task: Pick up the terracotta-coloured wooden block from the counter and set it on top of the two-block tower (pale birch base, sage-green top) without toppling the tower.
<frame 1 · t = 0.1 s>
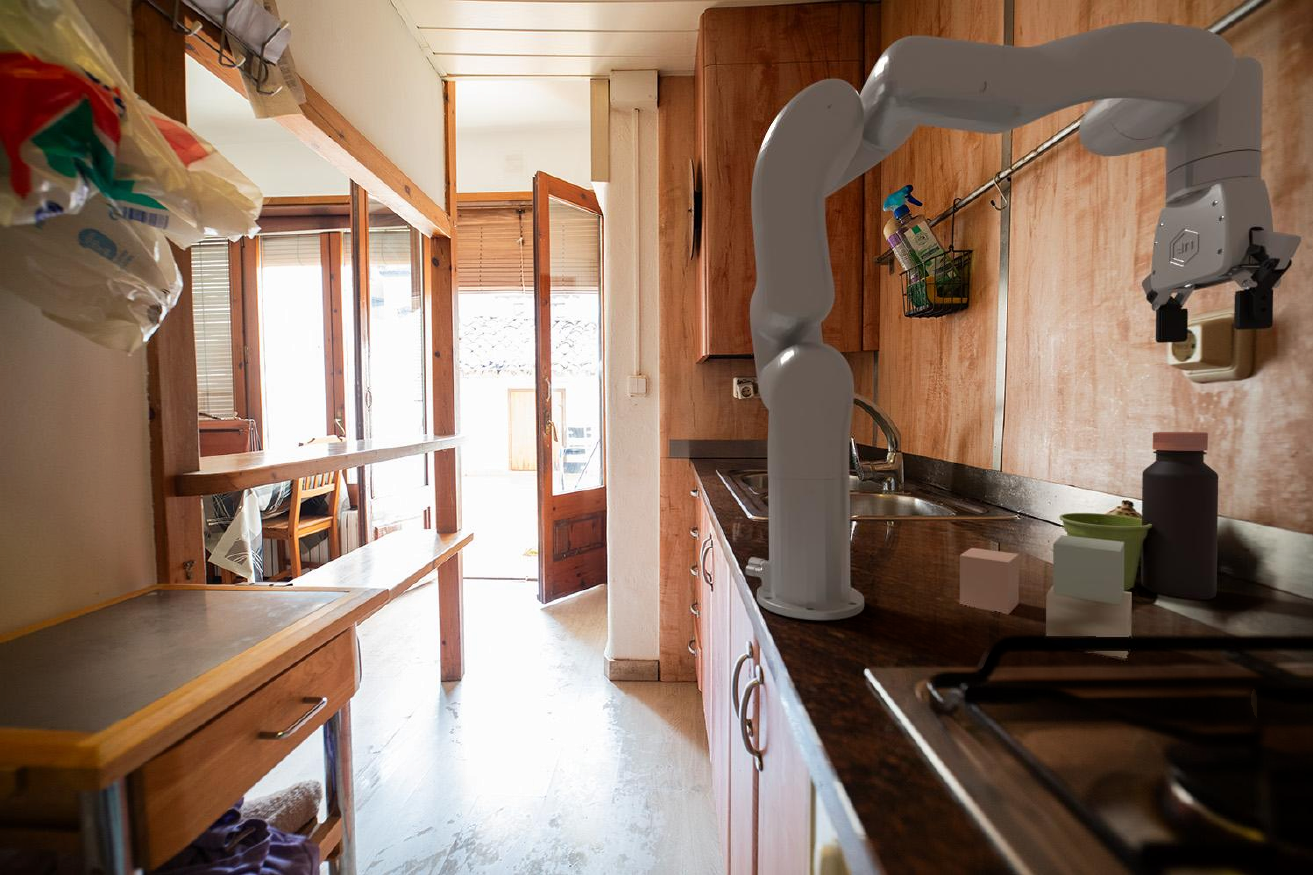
hand: (1209, 335, 61), 31 cm above the countertop, tool pointing down, fingers open, 9 cm apart
tower top: (1088, 593, 53), point 5 cm above the countertop, touching tower base
bottle: (1177, 593, 68), on the countertop
tower base: (1088, 643, 53), on the countertop, touching tower top
plant pot: (1103, 585, 71), on the countertop
block: (989, 604, 65), on the countertop
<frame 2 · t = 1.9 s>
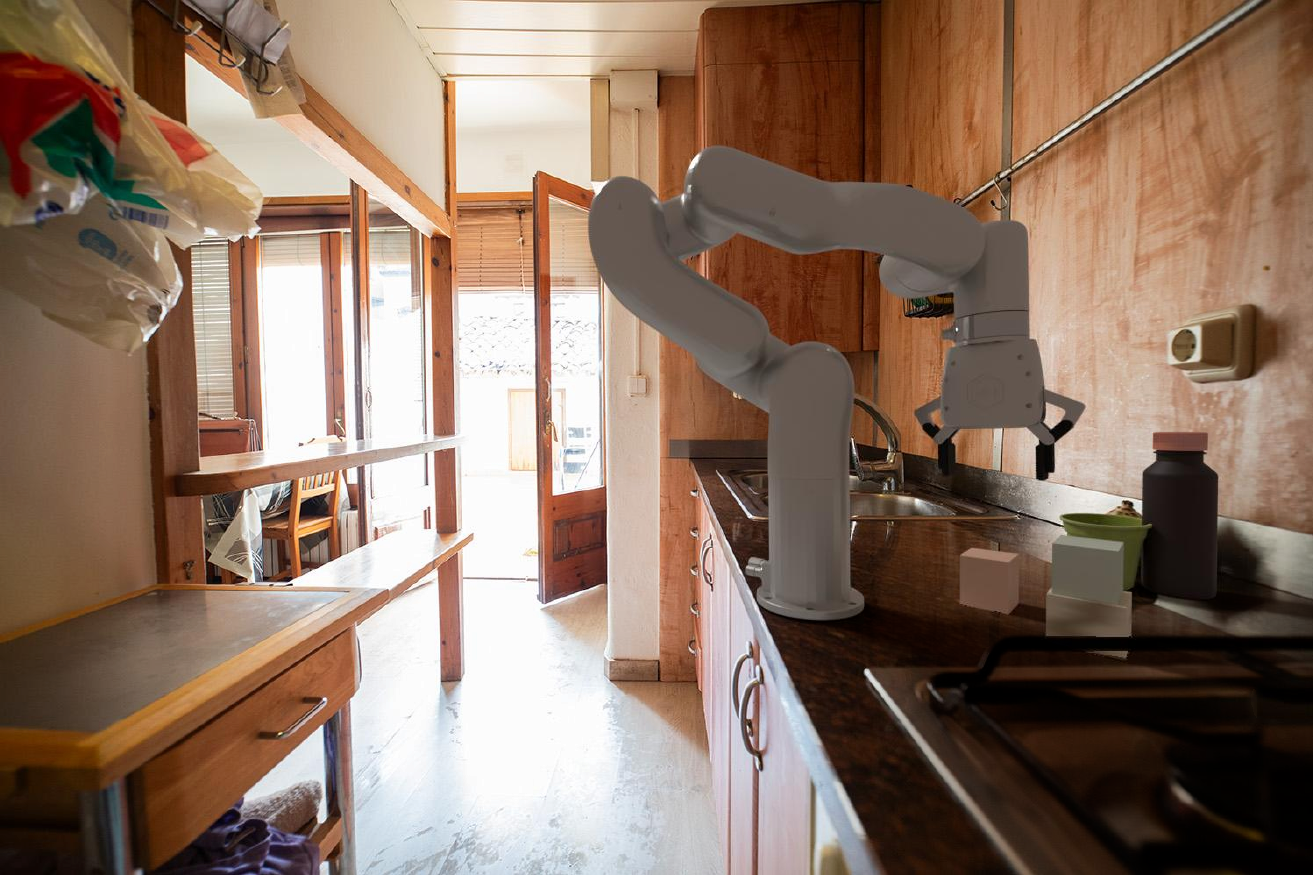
hand: (993, 477, 64), 15 cm above the countertop, tool pointing down, fingers open, 9 cm apart
nothing on the countertop moved.
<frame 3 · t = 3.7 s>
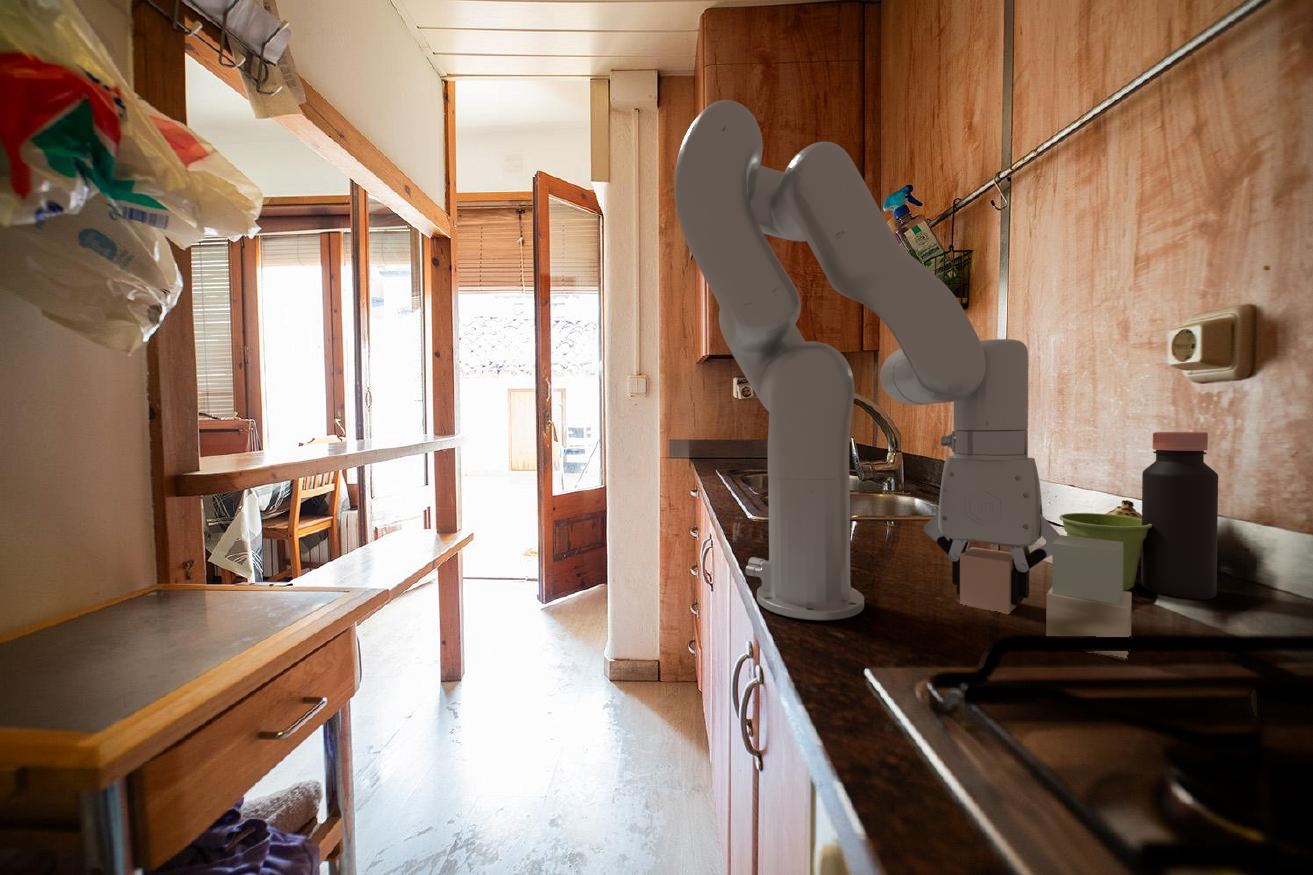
hand: (989, 595, 65), 1 cm above the countertop, tool pointing down, fingers closed on block, 5 cm apart
block: (989, 603, 65), on the countertop, touching gripper
everything else where it was.
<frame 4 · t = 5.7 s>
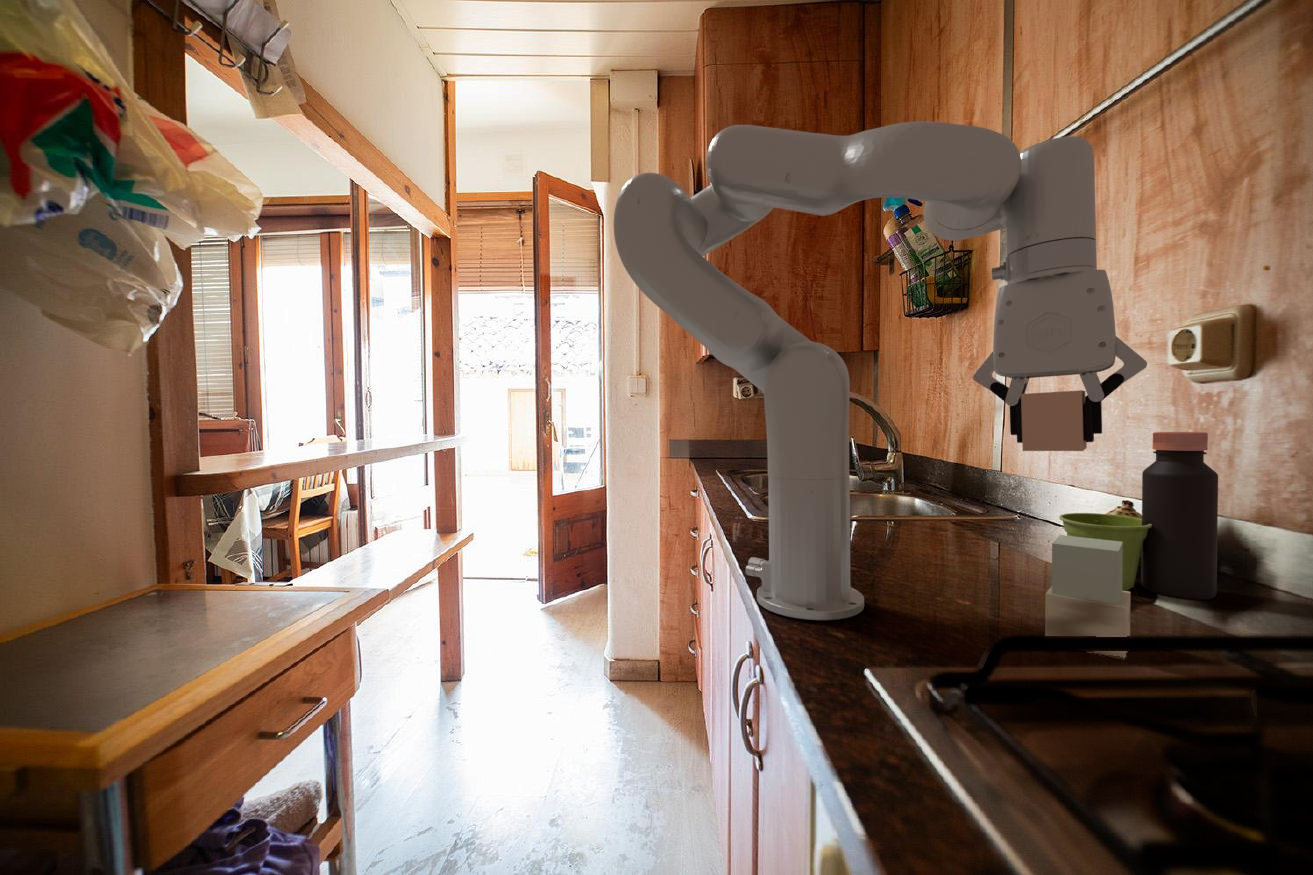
hand: (1054, 439, 57), 20 cm above the countertop, tool pointing down, fingers closed on block, 5 cm apart
block: (1054, 449, 57), point 19 cm above the countertop, touching gripper
everything else where it was.
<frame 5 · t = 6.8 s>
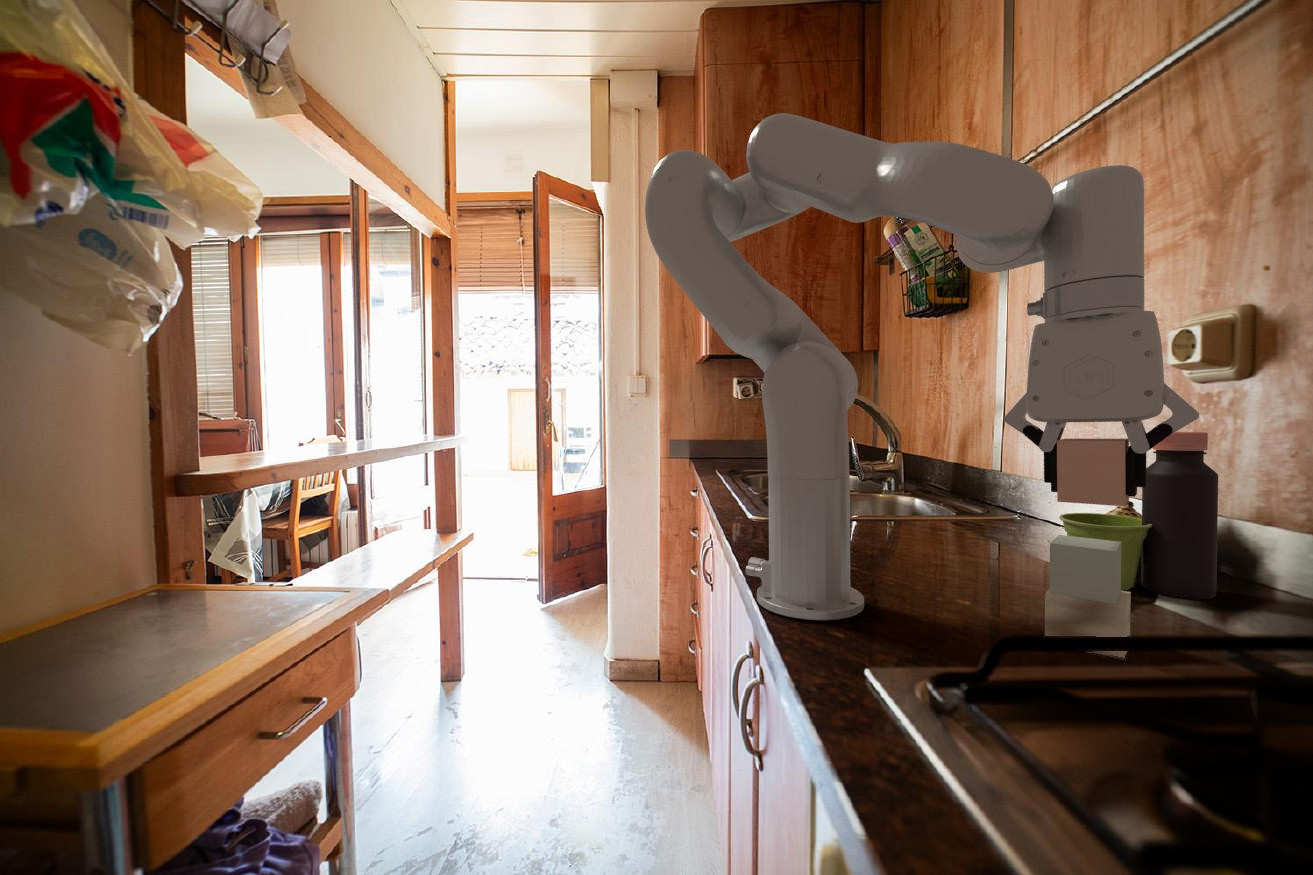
hand: (1093, 490, 53), 15 cm above the countertop, tool pointing down, fingers closed on block, 5 cm apart
block: (1093, 500, 53), point 14 cm above the countertop, touching gripper
everything else where it was.
when the fingers open (12 cm above the countertop, at t = 7.7 s): block moves 1 cm, resting on tower top.
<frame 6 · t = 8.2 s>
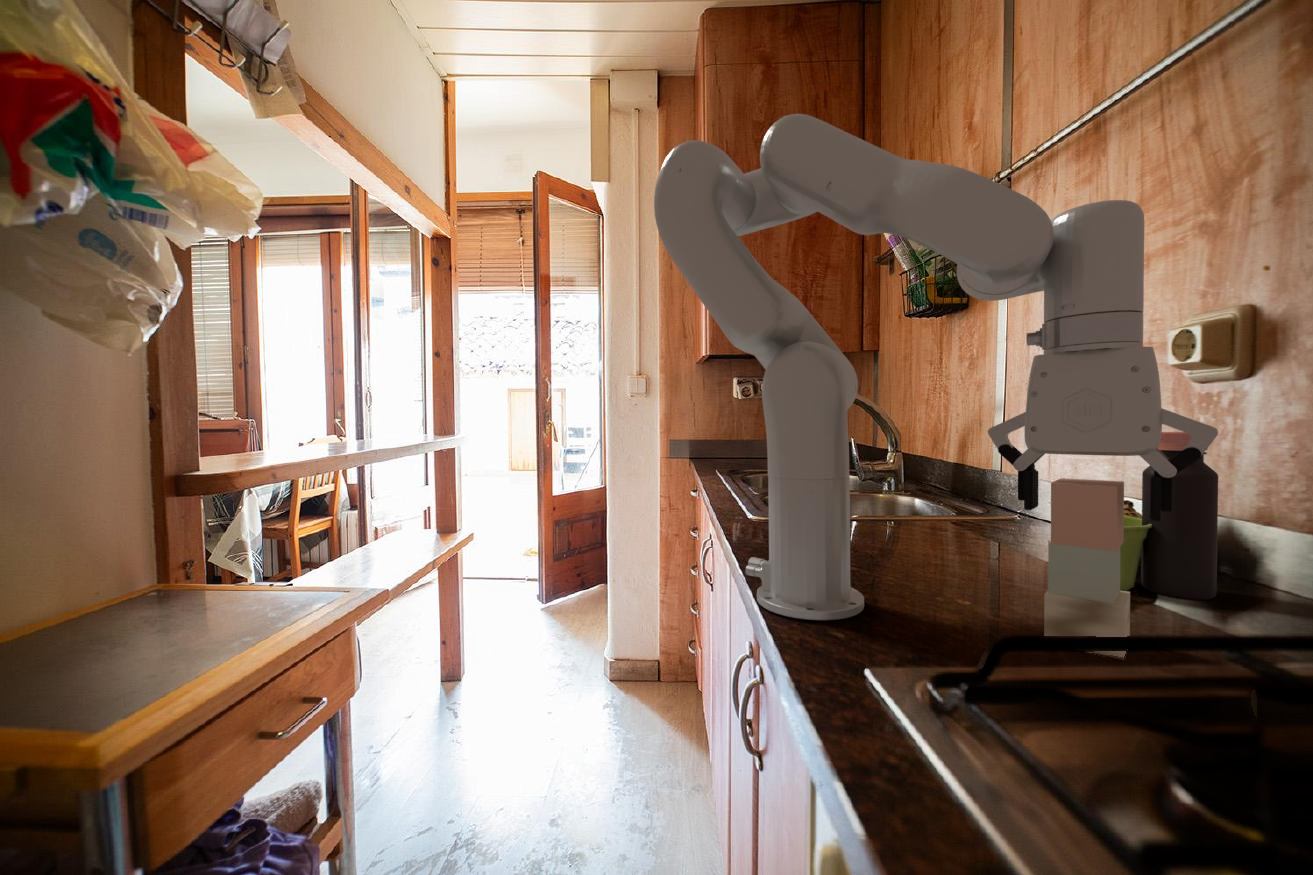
hand: (1089, 513, 53), 13 cm above the countertop, tool pointing down, fingers open, 9 cm apart
tower top: (1084, 592, 54), point 5 cm above the countertop, touching block, tower base
block: (1087, 542, 53), point 10 cm above the countertop, touching tower top
everything else where it was.
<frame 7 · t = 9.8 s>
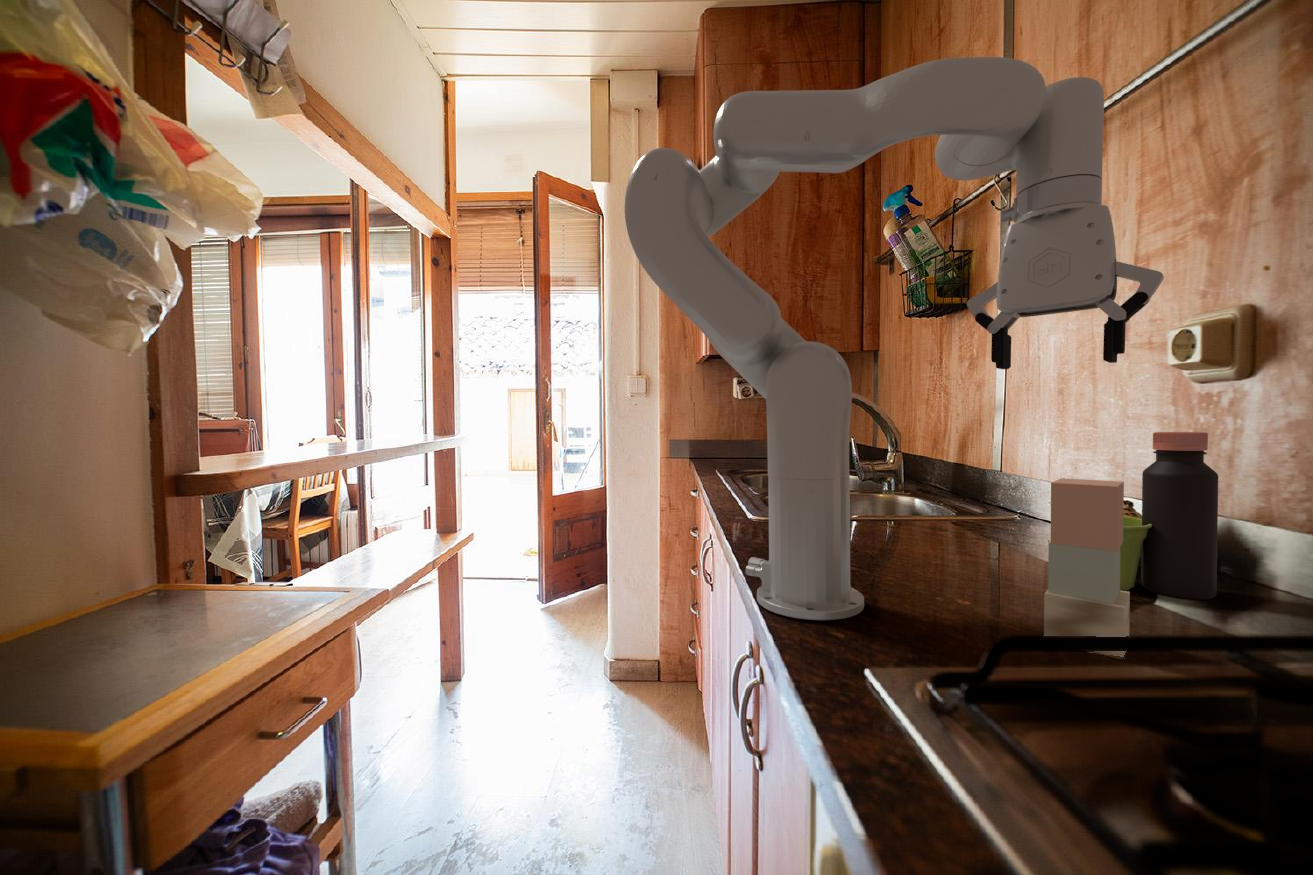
hand: (1053, 365, 59), 28 cm above the countertop, tool pointing down, fingers open, 9 cm apart
nothing on the countertop moved.
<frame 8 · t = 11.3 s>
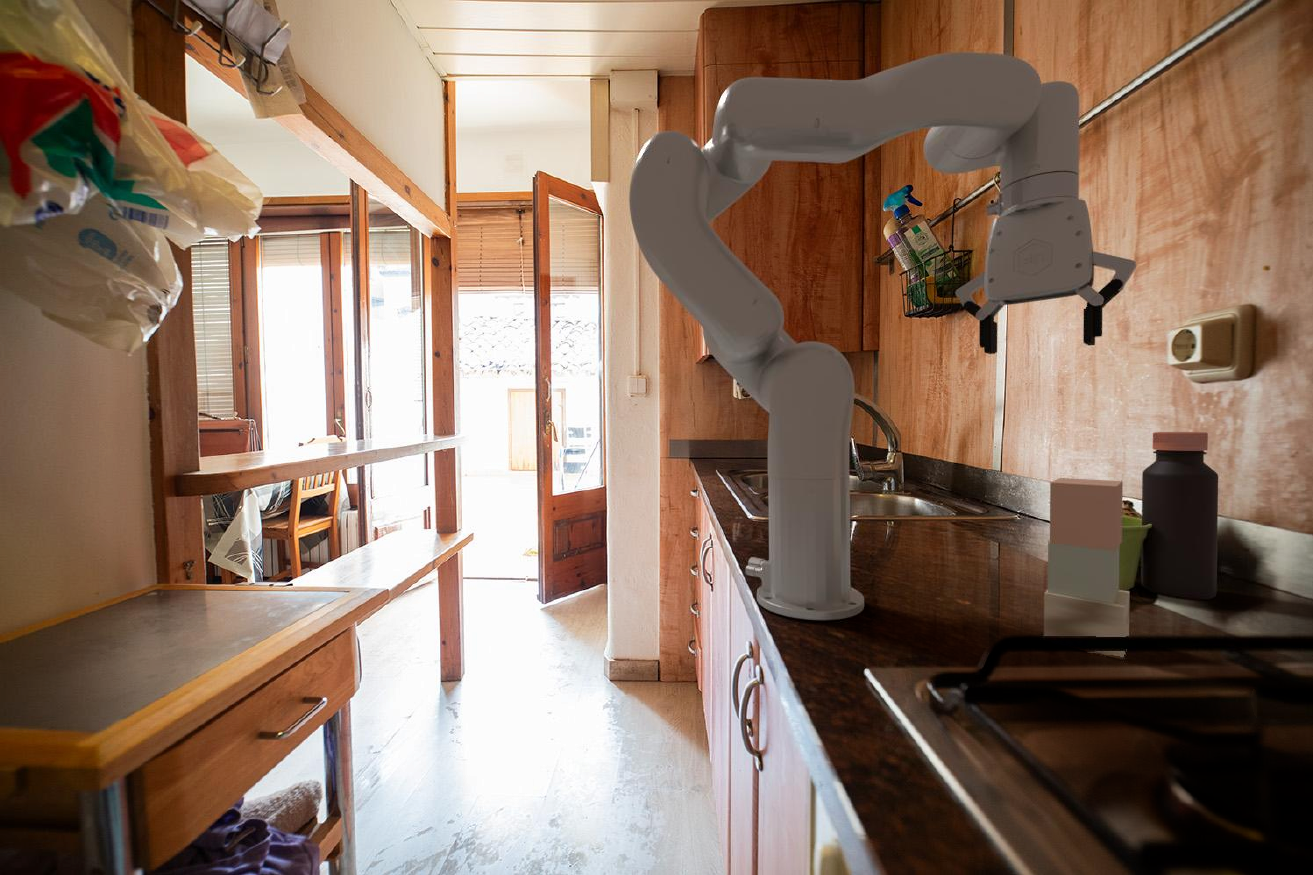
hand: (1037, 348, 64), 30 cm above the countertop, tool pointing down, fingers open, 9 cm apart
nothing on the countertop moved.
at the end: block 0.1 cm off-centre on the tower top, point 5.0 cm above the tower top's base; block tilted 0°; tower top point 4.9 cm above the countertop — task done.
